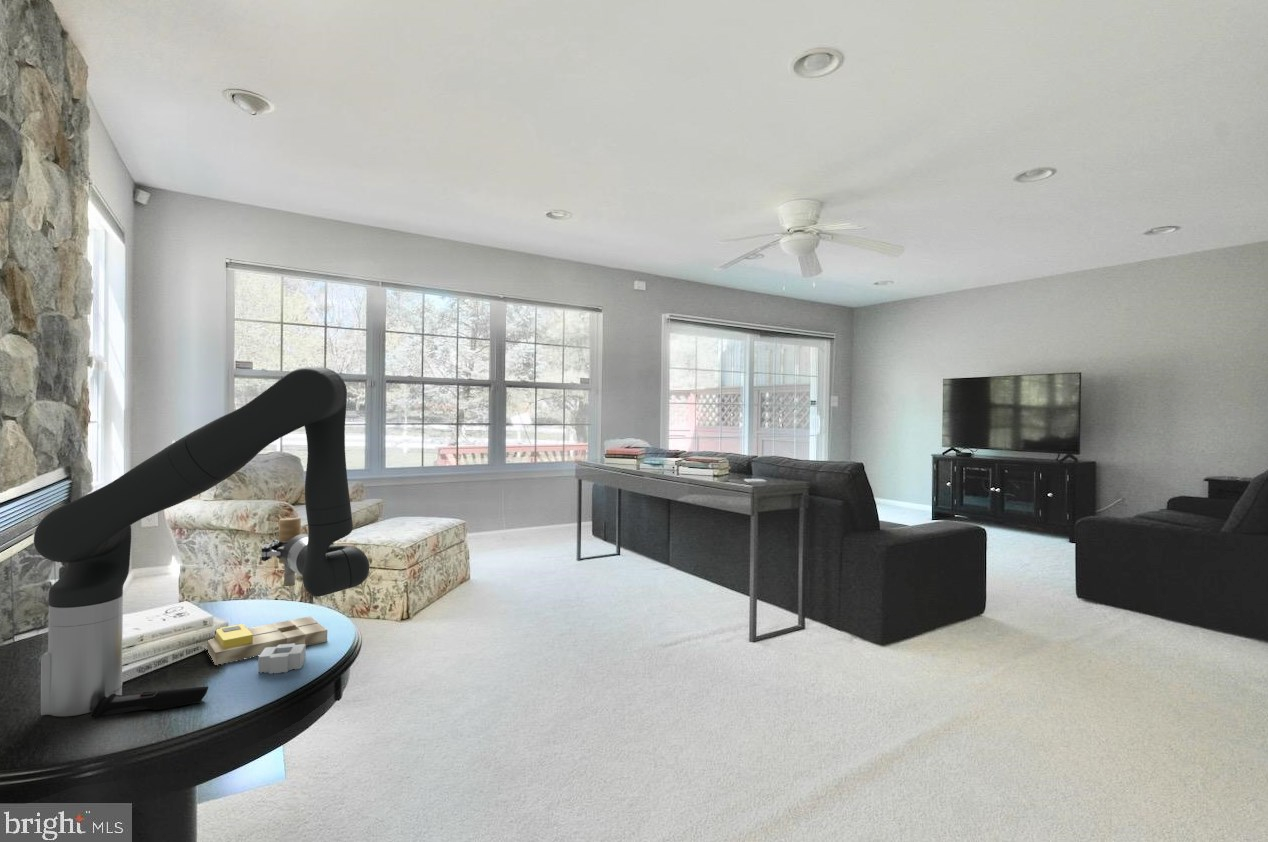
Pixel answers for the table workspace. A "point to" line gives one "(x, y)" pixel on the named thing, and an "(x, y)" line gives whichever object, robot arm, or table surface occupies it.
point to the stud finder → (233, 636)
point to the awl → (287, 532)
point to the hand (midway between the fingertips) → (286, 543)
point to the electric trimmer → (148, 700)
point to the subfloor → (270, 639)
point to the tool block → (281, 658)
